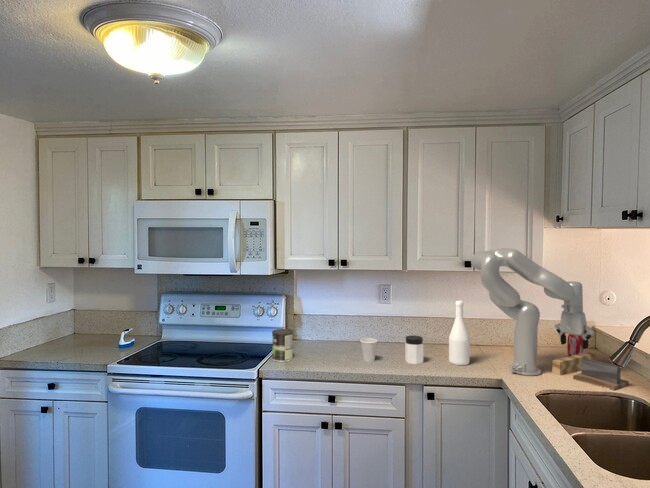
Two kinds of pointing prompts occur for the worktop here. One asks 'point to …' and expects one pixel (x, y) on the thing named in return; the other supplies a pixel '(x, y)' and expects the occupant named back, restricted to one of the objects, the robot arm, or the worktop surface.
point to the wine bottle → (459, 339)
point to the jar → (414, 350)
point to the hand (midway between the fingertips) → (574, 346)
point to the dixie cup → (368, 349)
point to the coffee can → (282, 345)
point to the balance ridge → (600, 374)
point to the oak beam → (568, 363)
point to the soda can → (574, 345)
